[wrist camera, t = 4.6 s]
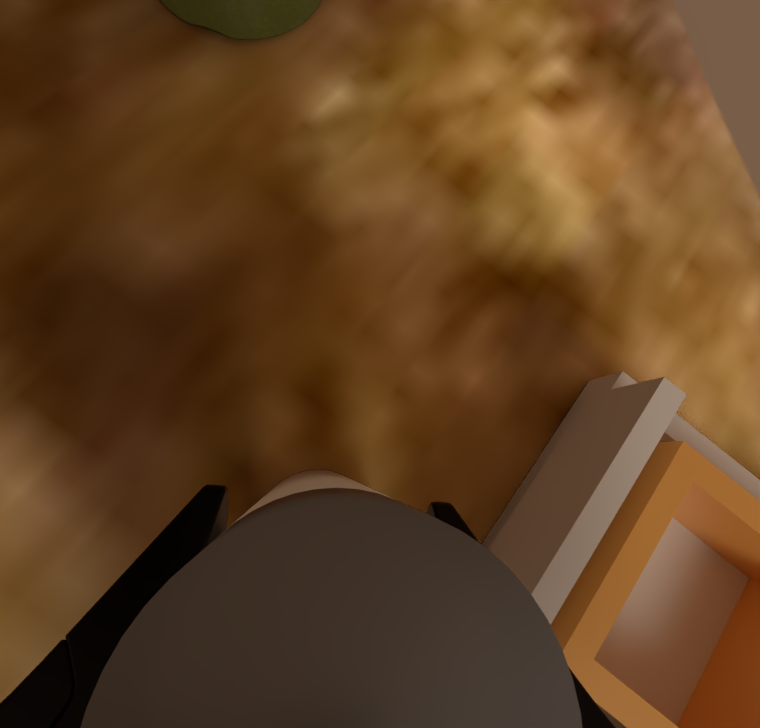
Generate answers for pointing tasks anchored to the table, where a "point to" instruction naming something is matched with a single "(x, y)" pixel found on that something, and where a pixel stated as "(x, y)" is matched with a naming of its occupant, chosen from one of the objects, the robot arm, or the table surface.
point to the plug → (338, 627)
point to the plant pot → (244, 15)
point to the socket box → (643, 559)
